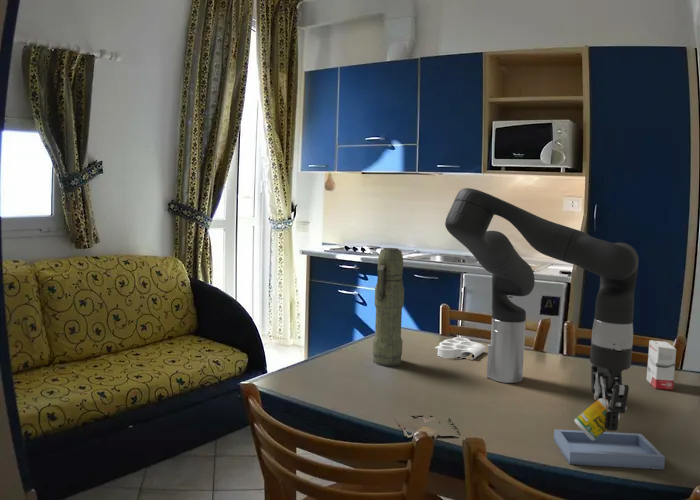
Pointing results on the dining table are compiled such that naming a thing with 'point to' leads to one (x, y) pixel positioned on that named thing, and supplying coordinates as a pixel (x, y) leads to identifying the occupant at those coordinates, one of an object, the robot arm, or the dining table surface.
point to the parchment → (426, 427)
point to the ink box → (661, 365)
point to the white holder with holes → (459, 348)
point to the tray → (608, 449)
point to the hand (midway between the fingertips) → (605, 423)
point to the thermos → (388, 308)
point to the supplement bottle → (594, 419)
